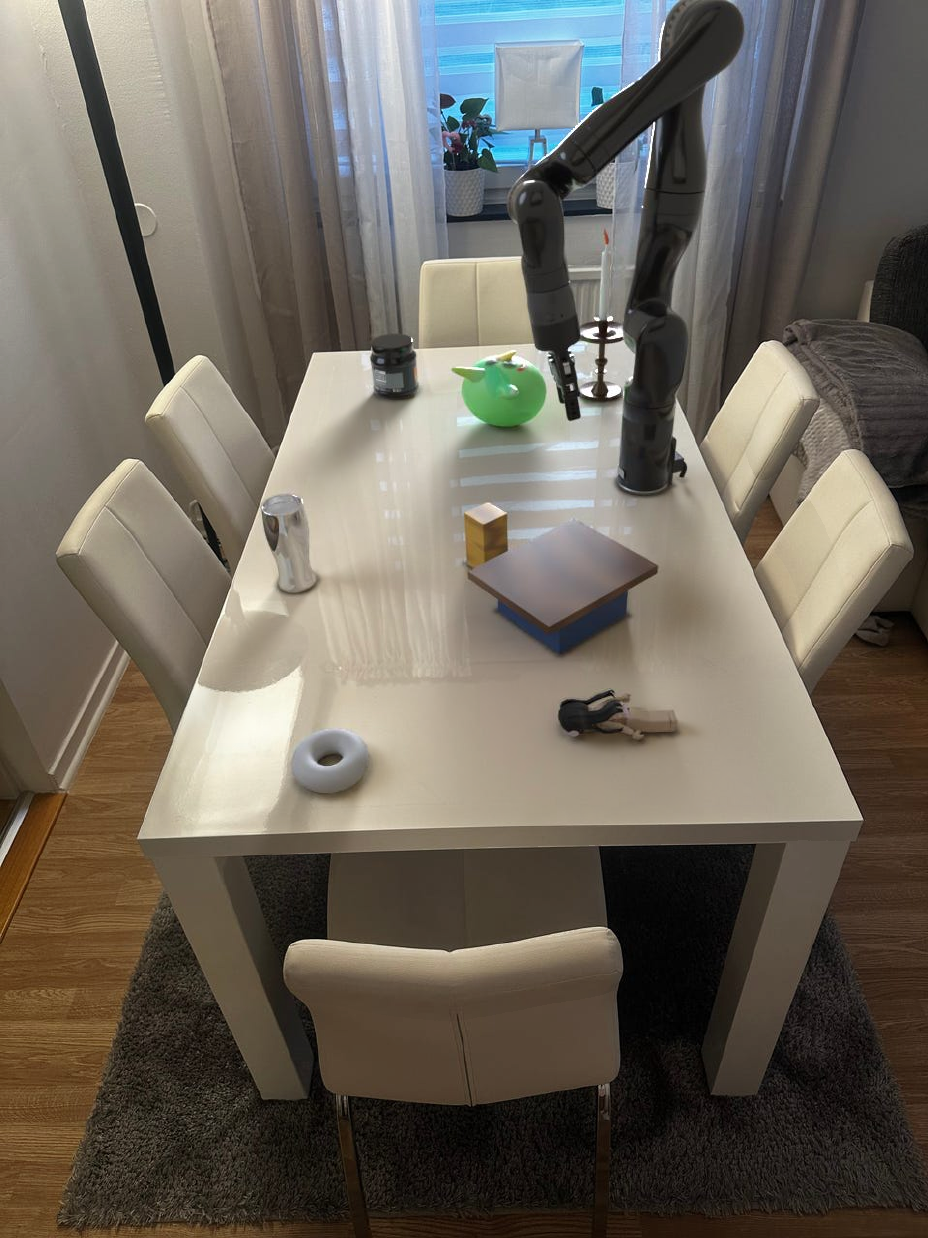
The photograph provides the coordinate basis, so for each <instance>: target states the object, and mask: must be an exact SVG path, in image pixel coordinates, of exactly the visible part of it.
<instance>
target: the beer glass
mask: <svg viewBox="0 0 928 1238" xmlns="http://www.w3.org/2000/svg"><path fill="white" fill-rule="evenodd" d="M304 505H305V504H304V501H303V498H302V497H301V496H299V495H297V494H294V493H279V494H275V495H272V496H270V497H267V498H266V499H264V500H263V501H262V503H261V505H260V511H261V520H262V526H263V533H264V535H265V540H266V542H267V544H268V548H269V549H270V552H271V554H272V556H273V558H274V561H275V563H276V567H277V571H278V572H277V573H278V587H279V589H281V590H282V591H284V592H286V593H290V594H295V593H296V594H297V593H303V592H305V591H307V590H310V588H312V587H313V586H314V585H315V583H316V575H315V572H314V570H313V567H312V564H311V559H310V545H311V544H310V543H311V541H310V539H311V537H310V527H309V520H308V516H307V512H306V509H305V506H304Z"/></svg>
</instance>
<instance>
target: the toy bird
mask: <svg viewBox="0 0 928 1238" xmlns="http://www.w3.org/2000/svg"><path fill="white" fill-rule="evenodd" d="M516 352H517V350H510V351H507V352H504V353H501V354H499V355H498V354H497V355H490V356H487V357H485V358H482V359H480V360H478V361H477V362H475V363H473V364H472V366H470V367H468V366H454V367H452V368H451V369H450V371H451V372H453V374H456V375H458V376H460V377H461V378H463V381H462V385H461V396H462V400H463V403H464V405H465V407H466V408H467V409H468V411H469V412H470V413H471V414H472V415H473V416H474V417H476V418H477V419H478V420H480V421H482V422H484V423H486V424H489V425H492V426H496V427H515V426H520V425H523V424H525V423H528V422H529V421H531V420H533V419H534V418H535V417H536V416H537V415H538V414H539V413H540V412H541V410H542V408H543V407H544V404H545V401H546V398H547V385H546V381H545V378H544V376H543V374H542V373H541V372H540V370H539V369H538V368H537V366H535V365H534V364H533V363H531V362H529V361H528V360H526V359H524V358H522V357H519V356H515V355H516Z"/></svg>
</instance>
